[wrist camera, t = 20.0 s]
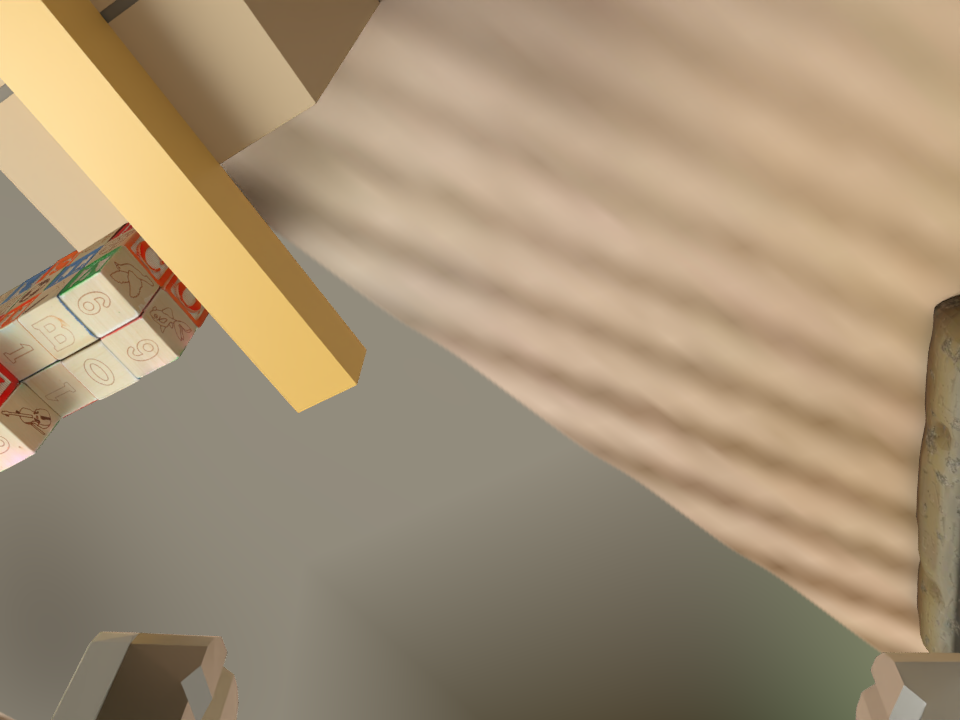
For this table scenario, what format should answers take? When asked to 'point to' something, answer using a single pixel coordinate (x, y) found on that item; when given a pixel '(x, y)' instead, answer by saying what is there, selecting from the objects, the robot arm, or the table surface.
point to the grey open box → (940, 488)
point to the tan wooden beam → (175, 194)
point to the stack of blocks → (86, 335)
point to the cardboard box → (191, 88)
